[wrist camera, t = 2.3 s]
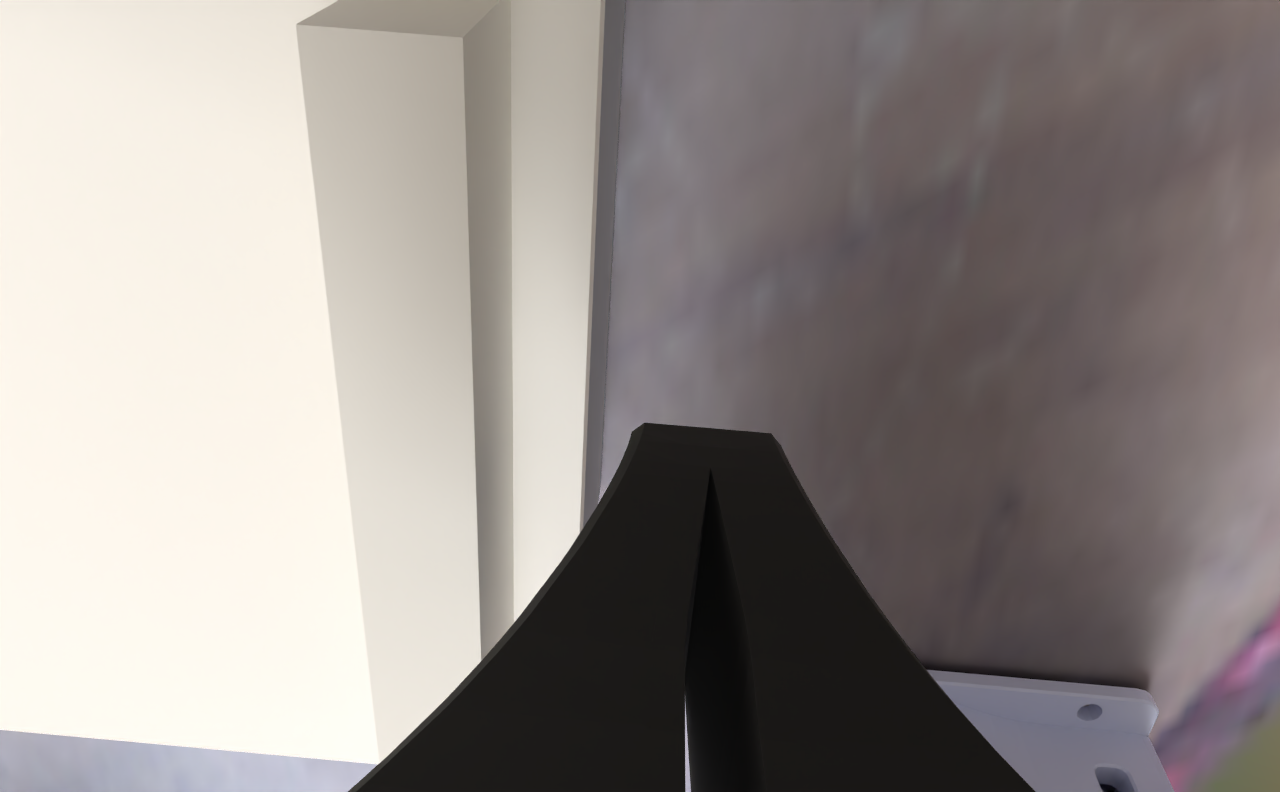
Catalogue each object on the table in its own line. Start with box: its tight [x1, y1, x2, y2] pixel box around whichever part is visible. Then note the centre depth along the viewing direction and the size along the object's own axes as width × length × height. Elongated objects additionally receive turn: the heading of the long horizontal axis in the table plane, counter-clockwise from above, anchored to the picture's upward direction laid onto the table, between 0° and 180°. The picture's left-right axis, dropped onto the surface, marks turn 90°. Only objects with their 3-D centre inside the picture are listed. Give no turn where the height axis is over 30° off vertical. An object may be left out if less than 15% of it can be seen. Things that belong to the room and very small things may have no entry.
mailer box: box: [583, 0, 626, 527], centre depth 14 cm, size 16×12×6 cm
